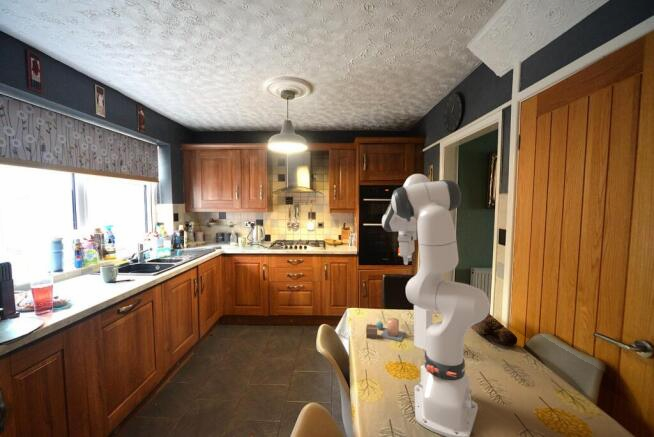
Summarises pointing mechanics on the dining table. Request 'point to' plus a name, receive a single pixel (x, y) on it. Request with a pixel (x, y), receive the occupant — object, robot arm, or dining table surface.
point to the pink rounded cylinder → (393, 327)
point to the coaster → (398, 338)
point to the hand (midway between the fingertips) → (407, 262)
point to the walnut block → (371, 331)
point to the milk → (421, 326)
